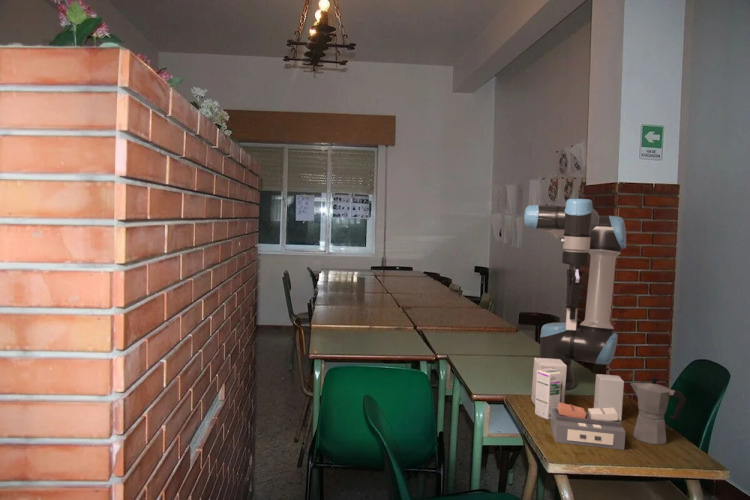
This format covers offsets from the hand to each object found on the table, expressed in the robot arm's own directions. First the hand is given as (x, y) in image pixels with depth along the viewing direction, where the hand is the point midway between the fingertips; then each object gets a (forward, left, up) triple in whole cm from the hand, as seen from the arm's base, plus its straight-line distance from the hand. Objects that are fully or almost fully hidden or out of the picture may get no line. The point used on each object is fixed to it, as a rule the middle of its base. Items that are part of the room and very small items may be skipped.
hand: (570, 329), depth 173 cm
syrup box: (-7, -4, -30) cm, 31 cm away
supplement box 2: (-13, +15, -30) cm, 36 cm away
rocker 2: (+8, +9, -22) cm, 25 cm away
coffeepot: (+4, +24, -30) cm, 38 cm away
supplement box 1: (-18, -3, -30) cm, 35 cm away
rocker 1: (+8, +1, -22) cm, 24 cm away
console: (+8, +5, -29) cm, 31 cm away
